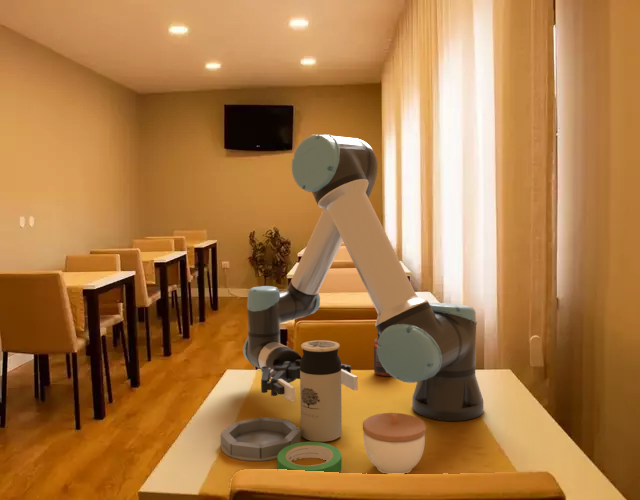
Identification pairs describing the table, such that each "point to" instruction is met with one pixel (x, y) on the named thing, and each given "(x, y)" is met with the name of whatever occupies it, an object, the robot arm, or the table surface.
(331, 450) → the tape roll
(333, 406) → the travel mug
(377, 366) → the supplement bottle
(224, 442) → the socket ring
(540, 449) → the table surface
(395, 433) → the lidded jar
